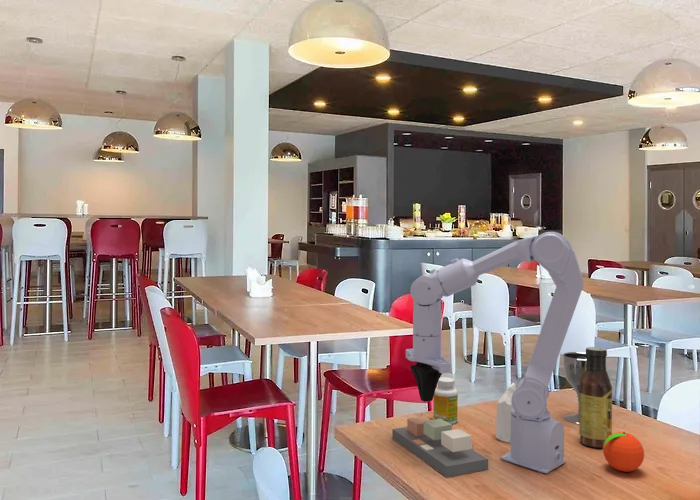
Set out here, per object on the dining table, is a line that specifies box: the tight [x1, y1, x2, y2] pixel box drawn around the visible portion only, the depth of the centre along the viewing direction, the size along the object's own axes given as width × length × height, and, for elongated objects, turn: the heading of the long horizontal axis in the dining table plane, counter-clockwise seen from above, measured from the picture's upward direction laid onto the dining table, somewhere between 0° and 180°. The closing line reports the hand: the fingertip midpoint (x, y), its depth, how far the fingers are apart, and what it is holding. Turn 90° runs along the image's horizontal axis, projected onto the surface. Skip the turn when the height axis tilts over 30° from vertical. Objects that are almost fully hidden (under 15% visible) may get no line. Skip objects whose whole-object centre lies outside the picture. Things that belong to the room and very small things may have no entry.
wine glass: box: [562, 351, 587, 425], centre depth 138 cm, size 8×8×15 cm
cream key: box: [441, 428, 472, 452], centre depth 110 cm, size 4×4×2 cm
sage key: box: [423, 419, 453, 440], centre depth 116 cm, size 4×4×2 cm
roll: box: [495, 382, 517, 444], centre depth 125 cm, size 6×12×6 cm
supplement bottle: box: [433, 376, 459, 425], centre depth 136 cm, size 5×5×10 cm
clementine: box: [602, 431, 645, 473], centre depth 109 cm, size 8×7×7 cm
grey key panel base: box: [391, 426, 489, 478], centre depth 117 cm, size 21×9×2 cm, turn 23°
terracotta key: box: [406, 415, 430, 437], centre depth 122 cm, size 4×4×2 cm
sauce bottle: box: [578, 346, 613, 449], centre depth 122 cm, size 7×6×20 cm
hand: (426, 400), depth 120 cm, fingers closed
